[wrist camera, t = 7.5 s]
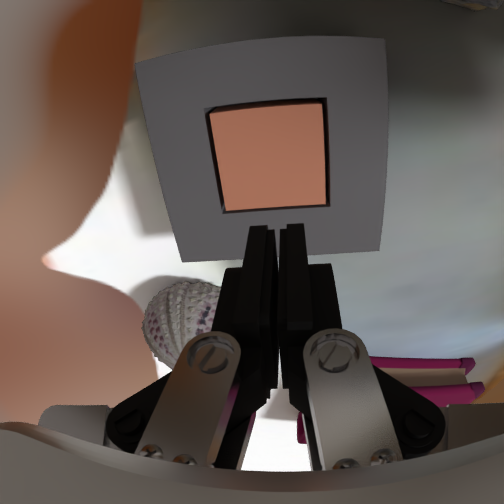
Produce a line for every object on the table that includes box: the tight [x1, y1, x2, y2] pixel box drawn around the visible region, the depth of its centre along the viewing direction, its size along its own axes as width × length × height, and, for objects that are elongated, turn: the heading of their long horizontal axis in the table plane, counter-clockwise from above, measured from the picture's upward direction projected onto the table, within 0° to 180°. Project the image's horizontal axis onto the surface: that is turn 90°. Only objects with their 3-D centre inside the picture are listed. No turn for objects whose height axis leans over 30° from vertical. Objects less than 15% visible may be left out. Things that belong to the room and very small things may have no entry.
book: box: [297, 356, 485, 444], centre depth 43 cm, size 21×28×8 cm
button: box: [210, 99, 326, 211], centre depth 21 cm, size 7×7×3 cm
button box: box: [135, 36, 388, 262], centre depth 22 cm, size 16×16×6 cm
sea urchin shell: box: [142, 282, 221, 370], centre depth 34 cm, size 13×14×8 cm
